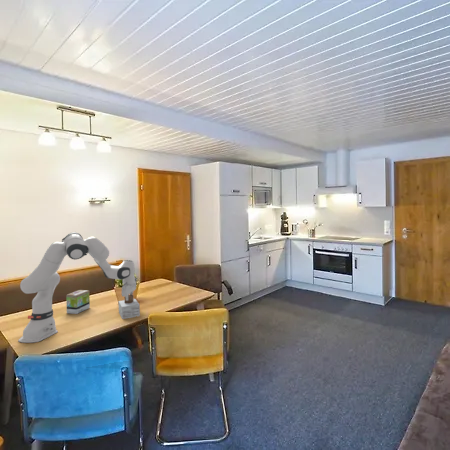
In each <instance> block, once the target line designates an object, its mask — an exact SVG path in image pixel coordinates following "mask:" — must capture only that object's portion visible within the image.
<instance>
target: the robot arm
mask: <svg viewBox="0 0 450 450" xmlns="http://www.w3.org/2000/svg"><path fill="white" fill-rule="evenodd" d="M88 254H89V256H91V258H93V260H94V262H95V263H96V264H97V266H99V268H100V269H101V271H102V272H103V275H104V277H105V278H106V279H108V280H109V279H111V280H112V279H113V280H120V281H121V280H122V287H121V296H122V297H125V298H126V301H128V300H129V298H128V295H133V296H134V291H136V289H137V277H135V263H134V261H133V260H131V259H130V260H128V259H124V260H122V263H120V264H119V265H113V264H110V263H109V261H108V260H107V259H108V258H109V256H110V250H109V249H108V247H107V246H106V245H105V244H104V243H103V242H102V241H101V240H99V239H98V238H97V237H95V236H90V237H87V238H86V239H84V238H83V235H81V234H80V233H79V232H76V231H72V232H70V233H68V234H67V235H66V236H65V237H63V238H62V239H61V241H55V242H53V243H51V244H50V246H48V247H47V250H46V251H45V253H44V254H43V256H42V259H41V260H40V262H39V264H38V265H37V267H36V268H34V270H33V271H32V272H30V273H29V275H27V276H26V277H25V278H23V279H22V280H21V282H20V283H19V284H20V285H19V287H20V290H21V291H22V292H23V293H24V294H26V295H28V294H36V293H37V294H36V295H35V296H34V298H32V301H31V309H32V312H31V314H30V315H27V319H28V320H29V322H28V323H27V325H26V326H25V327H24V329H23V331H22V336H21V337H20V338H19V339H18V343H24V344H26V343H38V342H41V341H44V340H45V339H47V338H49V337H51V336H53V335H55V334H56V333H59V332H58V330H57V326H56V321H55V318H54V308H53V296H54V292H55V289H56V288H57V286H58V285H59V284H60V281H61V276H60V274H59V273H58V270H59V268H60V266H61V264H62V263H63V261H64V259H65V257H66V256H67V257H68V258H70V259H71V260H74V261H75V260H79V259H82V258H84V256H87V255H88ZM125 298H124V299H125Z"/></svg>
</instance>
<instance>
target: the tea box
mask: <svg viewBox="0 0 450 450" xmlns="http://www.w3.org/2000/svg"><path fill="white" fill-rule="evenodd" d="M65 298H66V314H76V315H77V314H80V313H81V312H84V311H86V310H89V309H90V301H91V300H90V298H91V297H90V290H84V289H78V290H74V291H73V292H70V293H68V294H66V297H65Z"/></svg>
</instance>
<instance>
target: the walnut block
mask: <svg viewBox="0 0 450 450" xmlns="http://www.w3.org/2000/svg"><path fill="white" fill-rule="evenodd" d="M123 297H124V300H125V303H132V302H133V299H134V294H133V295H130V294H129V295H128V298H129V300H128V301H126V298H125V296H123Z"/></svg>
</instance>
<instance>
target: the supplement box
mask: <svg viewBox="0 0 450 450" xmlns="http://www.w3.org/2000/svg"><path fill="white" fill-rule="evenodd" d="M117 302H118V304H117V305H118V314H119V316H120V318H121V319H122V320H125V319H131V318H137V317H141V315H140V309H141V308H140V303H139V301H138V300H137V299H136V298H133V302H132V303H125V299H123V300H118V301H117ZM136 316H137V317H136Z"/></svg>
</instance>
